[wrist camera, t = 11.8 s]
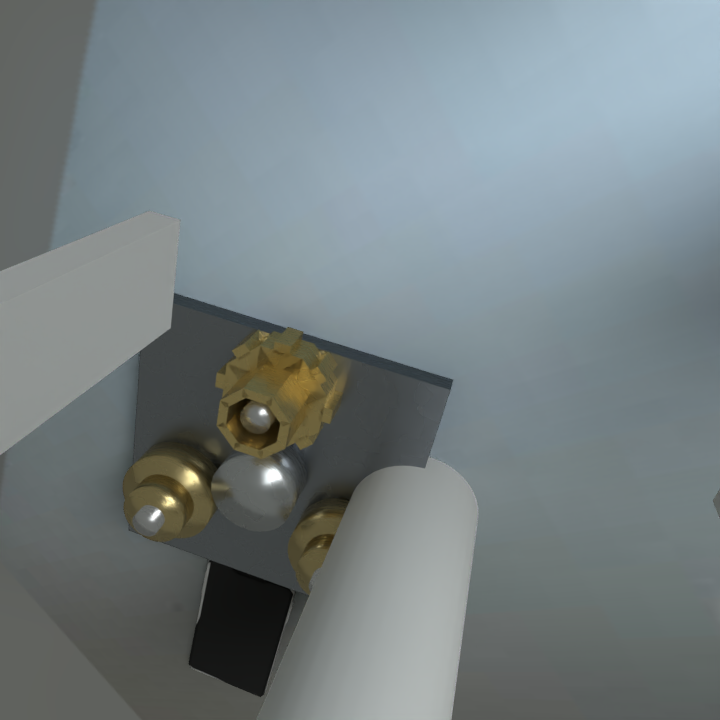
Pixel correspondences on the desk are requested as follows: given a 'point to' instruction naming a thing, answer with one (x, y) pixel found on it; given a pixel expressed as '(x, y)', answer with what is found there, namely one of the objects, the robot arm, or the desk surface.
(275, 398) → the gear
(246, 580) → the smartphone
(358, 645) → the cylinder container
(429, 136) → the desk surface
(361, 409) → the plate
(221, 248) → the desk surface
